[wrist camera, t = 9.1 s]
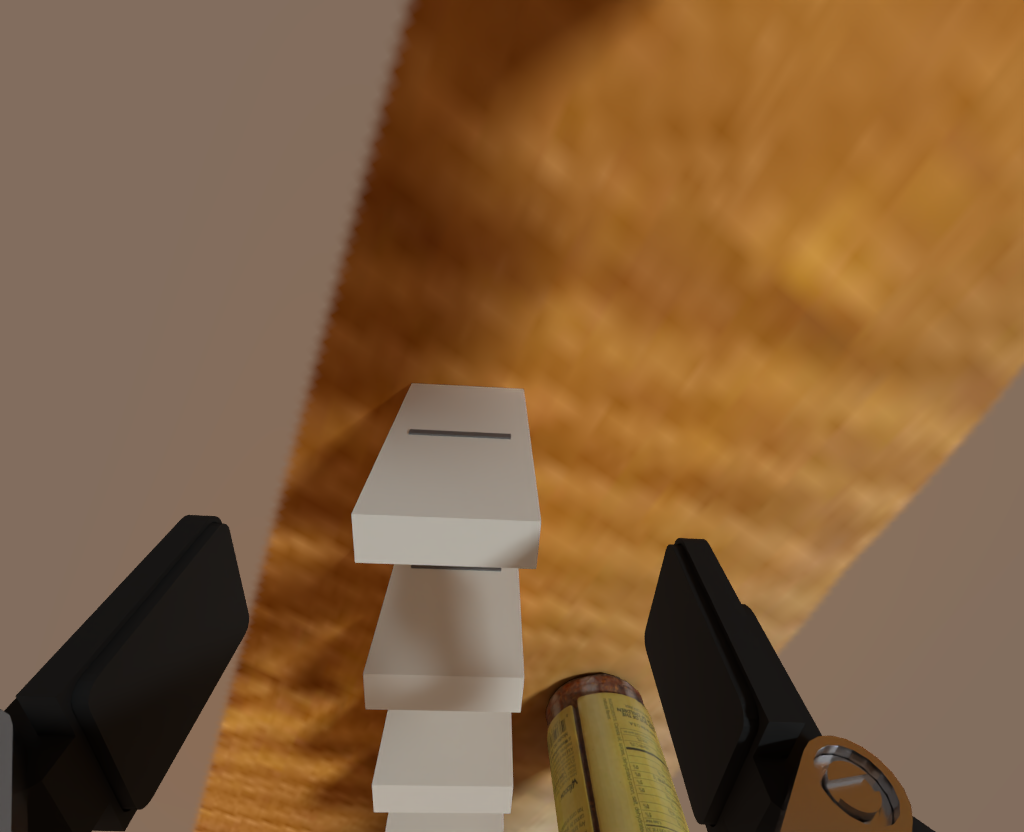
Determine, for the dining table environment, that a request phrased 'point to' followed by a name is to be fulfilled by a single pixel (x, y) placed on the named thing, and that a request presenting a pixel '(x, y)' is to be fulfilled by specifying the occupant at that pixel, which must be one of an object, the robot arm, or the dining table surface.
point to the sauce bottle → (608, 761)
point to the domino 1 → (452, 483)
